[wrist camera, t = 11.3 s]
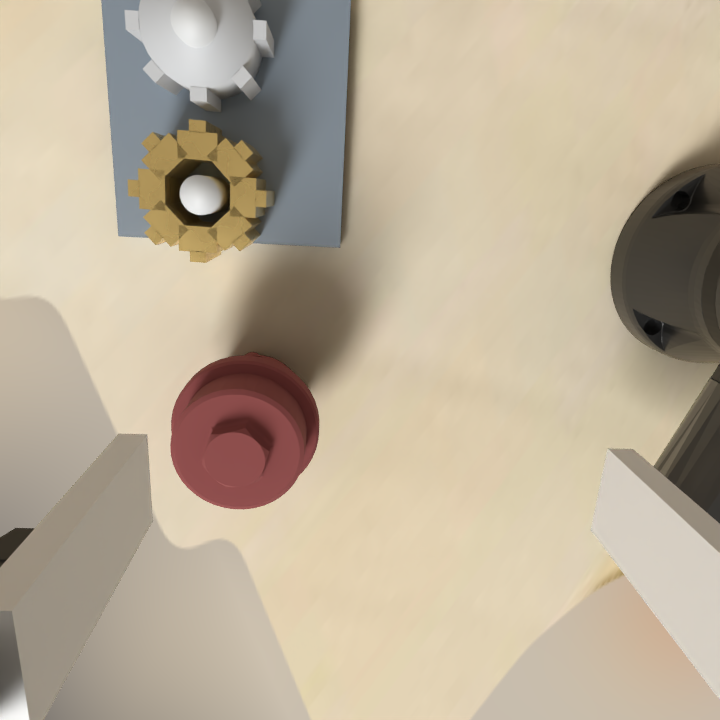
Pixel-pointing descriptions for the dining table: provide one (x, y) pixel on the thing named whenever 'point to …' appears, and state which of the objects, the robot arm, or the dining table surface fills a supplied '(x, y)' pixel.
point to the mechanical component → (243, 431)
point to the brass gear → (171, 168)
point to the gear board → (235, 103)
